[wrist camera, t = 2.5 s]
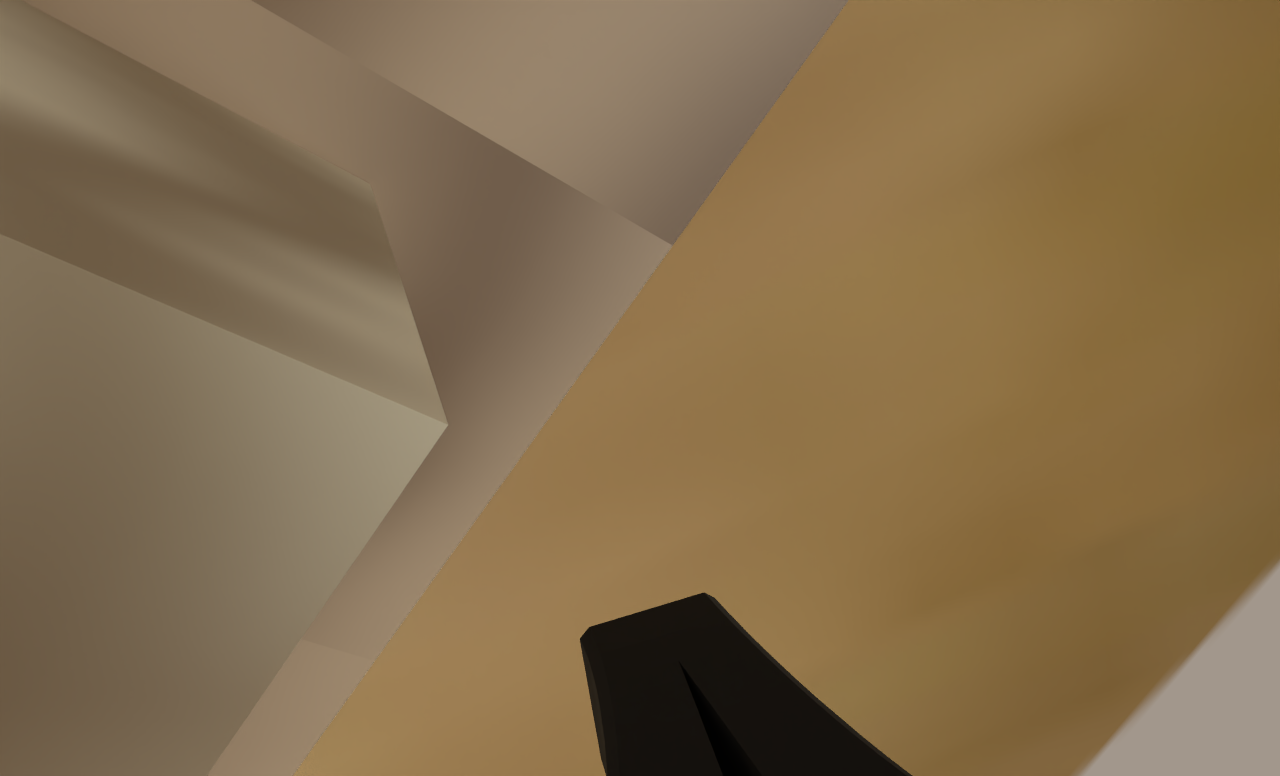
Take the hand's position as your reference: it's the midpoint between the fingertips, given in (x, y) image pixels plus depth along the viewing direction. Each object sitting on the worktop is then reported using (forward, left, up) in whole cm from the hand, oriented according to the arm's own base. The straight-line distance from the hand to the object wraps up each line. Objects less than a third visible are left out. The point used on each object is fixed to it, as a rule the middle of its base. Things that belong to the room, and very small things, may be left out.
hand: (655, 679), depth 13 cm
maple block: (+6, 0, -3) cm, 7 cm away
